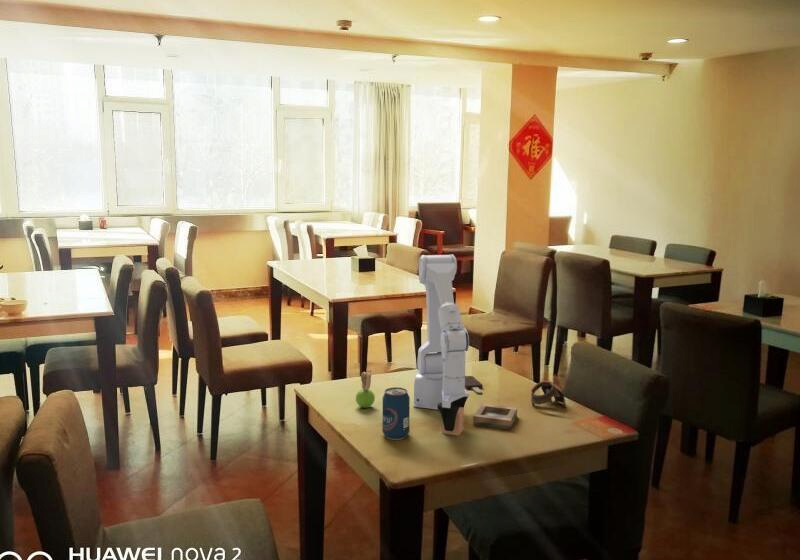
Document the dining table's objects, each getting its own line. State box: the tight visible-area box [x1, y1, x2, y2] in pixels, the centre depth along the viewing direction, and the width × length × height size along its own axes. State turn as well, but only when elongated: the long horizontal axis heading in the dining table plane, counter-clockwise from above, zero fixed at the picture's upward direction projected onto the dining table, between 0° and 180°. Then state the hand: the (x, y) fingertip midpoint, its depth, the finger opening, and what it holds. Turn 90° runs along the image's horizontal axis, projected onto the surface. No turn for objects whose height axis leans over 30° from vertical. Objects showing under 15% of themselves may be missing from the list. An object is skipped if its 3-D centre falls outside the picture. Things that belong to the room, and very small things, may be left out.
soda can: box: [381, 386, 411, 441], centre depth 172 cm, size 7×7×12 cm
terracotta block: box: [441, 407, 465, 436], centre depth 176 cm, size 4×4×6 cm
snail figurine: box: [355, 369, 376, 409], centre depth 192 cm, size 5×6×12 cm
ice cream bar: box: [465, 375, 483, 394], centre depth 212 cm, size 5×2×15 cm
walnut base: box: [472, 403, 518, 431], centre depth 183 cm, size 10×10×2 cm
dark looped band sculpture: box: [530, 379, 567, 409], centre depth 196 cm, size 12×10×8 cm
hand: (453, 425), depth 176 cm, fingers open, 7 cm apart
